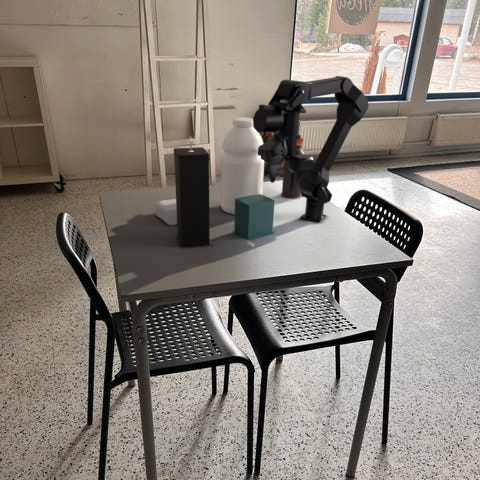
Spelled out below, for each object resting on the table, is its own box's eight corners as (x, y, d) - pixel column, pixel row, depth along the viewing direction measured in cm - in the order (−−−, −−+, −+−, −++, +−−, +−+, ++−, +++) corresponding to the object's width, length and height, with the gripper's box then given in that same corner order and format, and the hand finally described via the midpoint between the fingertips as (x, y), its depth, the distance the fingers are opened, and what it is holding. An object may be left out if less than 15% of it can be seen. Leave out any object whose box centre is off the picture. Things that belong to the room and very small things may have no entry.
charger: (174, 206, 165) (194, 220, 154) (148, 210, 161) (167, 225, 150) (173, 192, 162) (194, 205, 152) (147, 196, 158) (166, 210, 147)
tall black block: (182, 247, 136) (177, 141, 121) (177, 236, 143) (172, 135, 128) (209, 245, 138) (209, 140, 123) (204, 234, 144) (202, 134, 130)
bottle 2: (288, 199, 175) (293, 140, 164) (278, 194, 180) (282, 136, 169) (304, 197, 178) (310, 138, 167) (293, 191, 183) (298, 134, 172)
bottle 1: (212, 206, 166) (211, 117, 151) (244, 199, 173) (247, 113, 159) (237, 218, 157) (239, 125, 142) (270, 210, 164) (276, 120, 149)
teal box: (258, 225, 152) (260, 193, 147) (272, 233, 147) (274, 200, 142) (234, 231, 147) (234, 198, 142) (247, 239, 143) (249, 205, 137)
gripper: (244, 126, 140) (241, 181, 148) (286, 138, 127) (281, 198, 135) (275, 124, 146) (270, 177, 154) (318, 136, 133) (311, 193, 141)
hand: (282, 186), depth 146 cm, fingers open, 9 cm apart
